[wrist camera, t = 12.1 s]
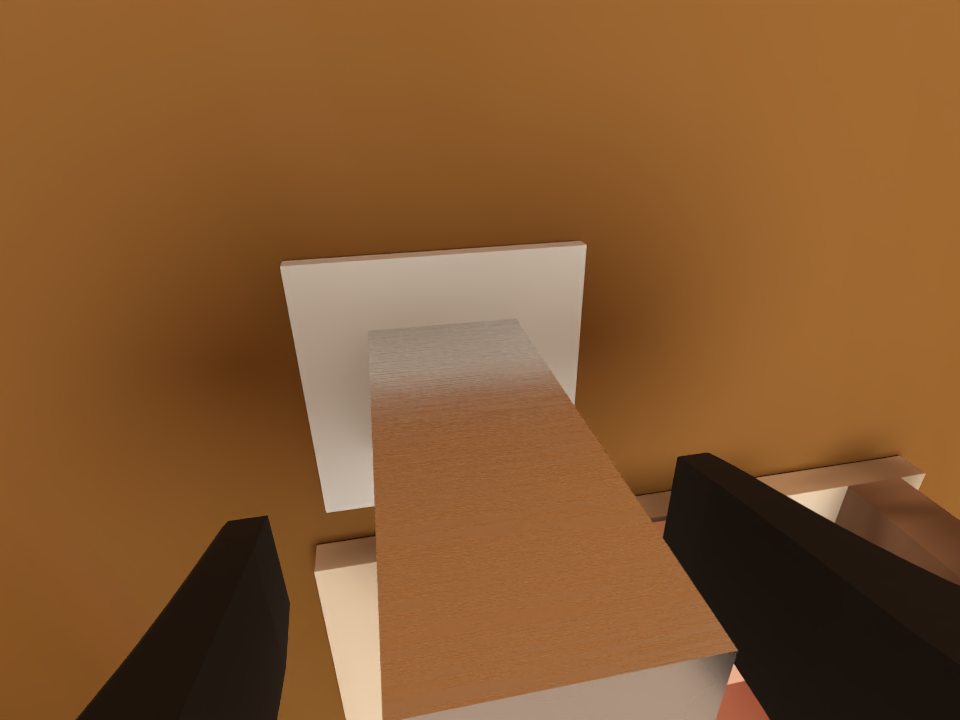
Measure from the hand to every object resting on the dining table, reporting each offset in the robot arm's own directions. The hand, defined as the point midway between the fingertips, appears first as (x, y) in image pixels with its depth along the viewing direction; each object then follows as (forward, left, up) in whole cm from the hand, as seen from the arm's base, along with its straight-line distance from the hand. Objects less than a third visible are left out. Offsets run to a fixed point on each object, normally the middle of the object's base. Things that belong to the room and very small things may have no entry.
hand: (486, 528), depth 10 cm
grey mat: (0, 0, -5) cm, 5 cm away
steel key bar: (0, 0, -5) cm, 5 cm away
